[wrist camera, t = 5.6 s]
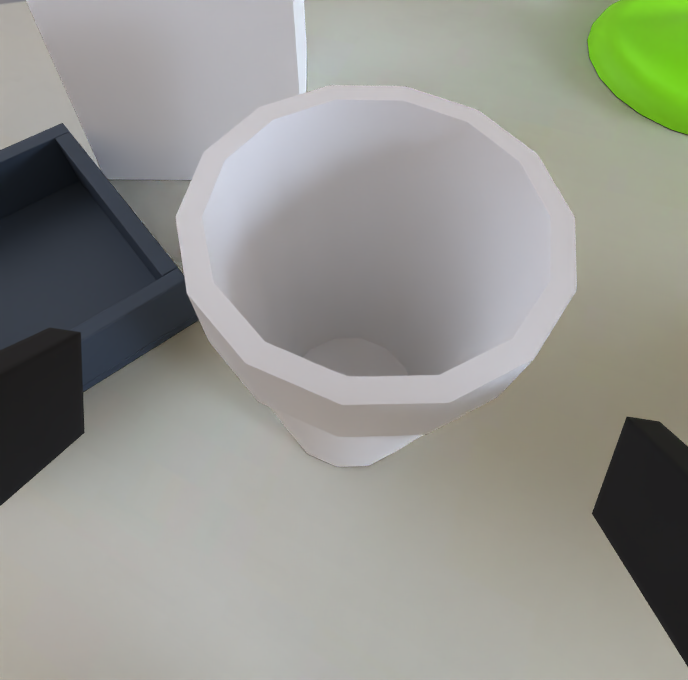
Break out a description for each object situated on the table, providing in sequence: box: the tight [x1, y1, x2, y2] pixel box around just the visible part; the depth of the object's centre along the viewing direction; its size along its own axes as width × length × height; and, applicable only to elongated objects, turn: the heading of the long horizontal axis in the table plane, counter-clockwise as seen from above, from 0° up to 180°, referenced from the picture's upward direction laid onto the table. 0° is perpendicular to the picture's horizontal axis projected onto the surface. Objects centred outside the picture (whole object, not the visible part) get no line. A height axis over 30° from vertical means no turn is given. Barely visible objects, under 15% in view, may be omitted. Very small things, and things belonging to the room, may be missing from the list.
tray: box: [0, 123, 199, 392], centre depth 23 cm, size 12×12×4 cm
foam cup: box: [175, 85, 577, 467], centre depth 18 cm, size 10×9×13 cm
